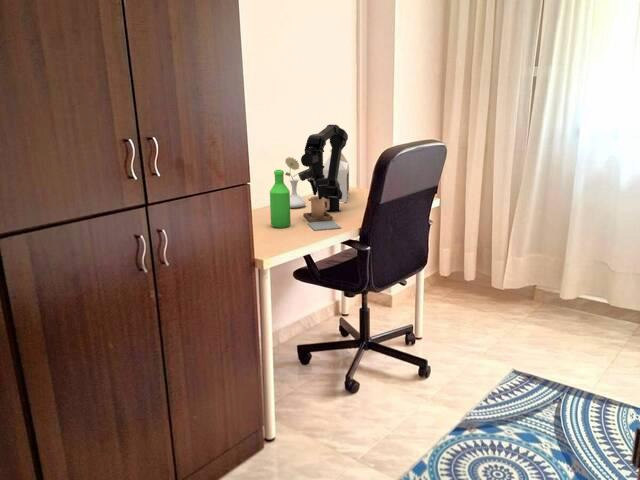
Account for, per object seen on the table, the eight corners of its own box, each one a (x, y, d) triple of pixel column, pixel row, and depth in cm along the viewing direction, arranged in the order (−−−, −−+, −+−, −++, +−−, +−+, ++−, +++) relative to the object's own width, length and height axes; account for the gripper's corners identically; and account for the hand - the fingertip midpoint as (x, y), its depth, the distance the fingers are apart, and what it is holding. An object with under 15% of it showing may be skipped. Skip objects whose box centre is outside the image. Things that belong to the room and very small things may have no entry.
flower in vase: (310, 207, 286) (309, 157, 279) (291, 210, 280) (289, 160, 272) (296, 202, 296) (295, 154, 289) (277, 205, 290) (275, 156, 283)
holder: (325, 215, 270) (325, 211, 269) (332, 220, 259) (332, 216, 259) (303, 216, 267) (303, 213, 266) (309, 222, 257) (309, 218, 256)
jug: (327, 216, 267) (327, 195, 264) (331, 219, 262) (330, 198, 259) (307, 217, 265) (307, 197, 262) (310, 221, 259) (310, 199, 256)
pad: (333, 222, 257) (333, 220, 257) (341, 228, 246) (341, 227, 246) (307, 224, 254) (307, 222, 254) (314, 231, 243) (314, 229, 243)
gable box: (325, 194, 316) (324, 143, 308) (349, 194, 314) (349, 143, 306) (321, 203, 295) (320, 149, 287) (346, 203, 293) (346, 149, 285)
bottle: (268, 224, 254) (266, 169, 247) (286, 222, 257) (284, 167, 250) (274, 229, 246) (272, 172, 239) (293, 227, 250) (291, 170, 242)
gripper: (294, 161, 262) (295, 194, 267) (304, 167, 245) (305, 202, 250) (318, 159, 265) (318, 192, 270) (329, 166, 248) (329, 200, 252)
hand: (317, 197), depth 260 cm, fingers open, 9 cm apart
